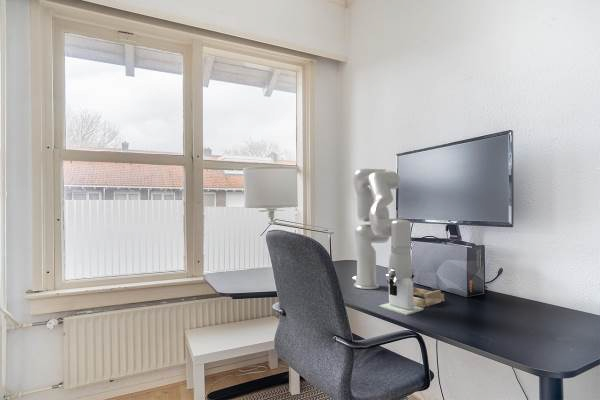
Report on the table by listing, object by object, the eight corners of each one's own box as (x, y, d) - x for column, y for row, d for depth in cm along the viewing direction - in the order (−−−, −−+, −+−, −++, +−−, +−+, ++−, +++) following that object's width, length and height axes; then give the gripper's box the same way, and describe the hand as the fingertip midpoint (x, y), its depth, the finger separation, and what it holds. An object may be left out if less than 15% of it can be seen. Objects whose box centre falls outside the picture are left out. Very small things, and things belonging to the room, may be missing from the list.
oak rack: (392, 298, 148) (392, 287, 148) (413, 293, 157) (413, 282, 157) (423, 307, 136) (423, 295, 136) (444, 301, 145) (444, 289, 145)
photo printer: (387, 304, 137) (387, 274, 138) (393, 302, 140) (393, 273, 140) (408, 310, 129) (408, 278, 130) (415, 308, 132) (415, 277, 132)
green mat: (379, 306, 137) (379, 305, 137) (396, 302, 143) (396, 300, 143) (406, 315, 126) (406, 313, 126) (423, 309, 133) (423, 308, 133)
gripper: (406, 248, 143) (406, 288, 143) (379, 251, 133) (379, 294, 133) (421, 249, 137) (421, 291, 137) (394, 253, 127) (395, 298, 127)
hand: (401, 293), depth 135 cm, fingers open, 9 cm apart
